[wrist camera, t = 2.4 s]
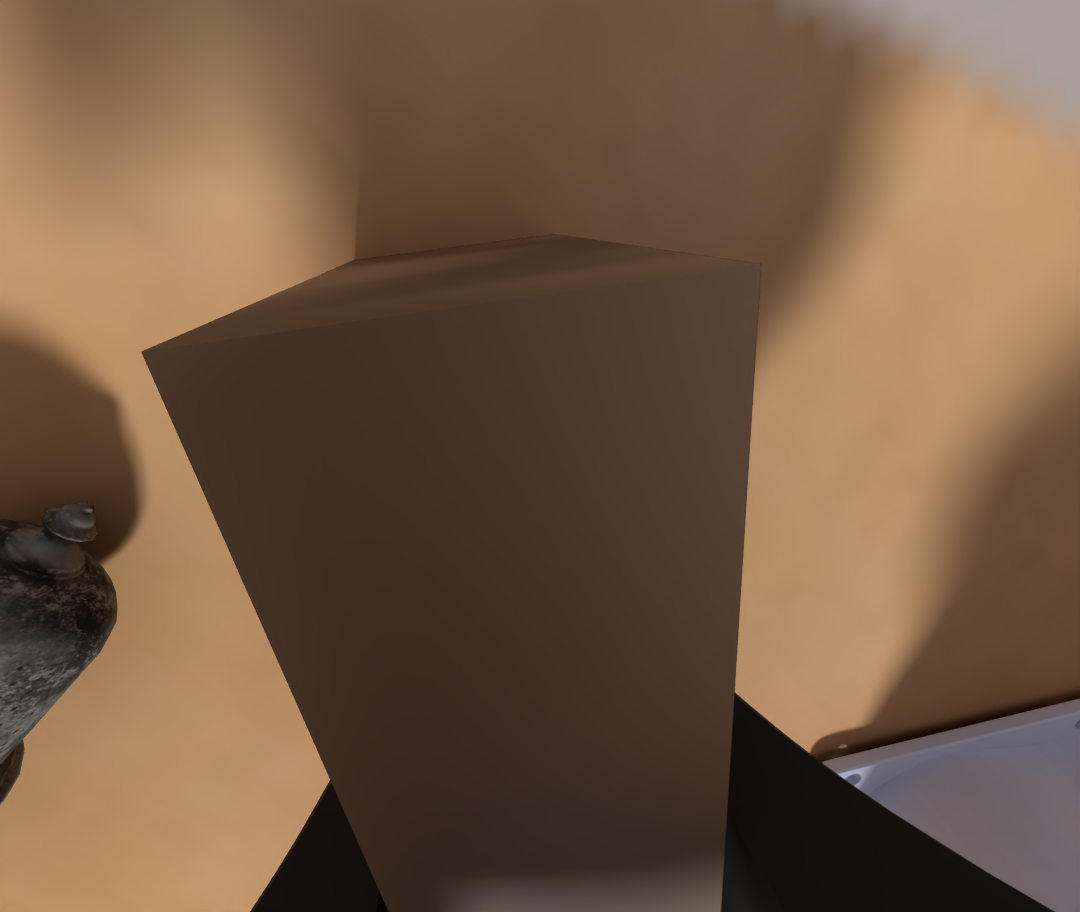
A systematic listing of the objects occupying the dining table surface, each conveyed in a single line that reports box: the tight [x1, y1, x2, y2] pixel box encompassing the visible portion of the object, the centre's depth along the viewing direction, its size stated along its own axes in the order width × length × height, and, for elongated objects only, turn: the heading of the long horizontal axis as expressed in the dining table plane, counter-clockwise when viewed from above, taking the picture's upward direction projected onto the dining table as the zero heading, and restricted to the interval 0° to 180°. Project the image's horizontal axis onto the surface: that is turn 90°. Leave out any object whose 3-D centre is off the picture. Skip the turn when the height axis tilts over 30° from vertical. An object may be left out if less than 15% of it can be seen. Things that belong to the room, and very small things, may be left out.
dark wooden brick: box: [142, 234, 761, 912], centre depth 8 cm, size 3×14×6 cm, turn 6°
